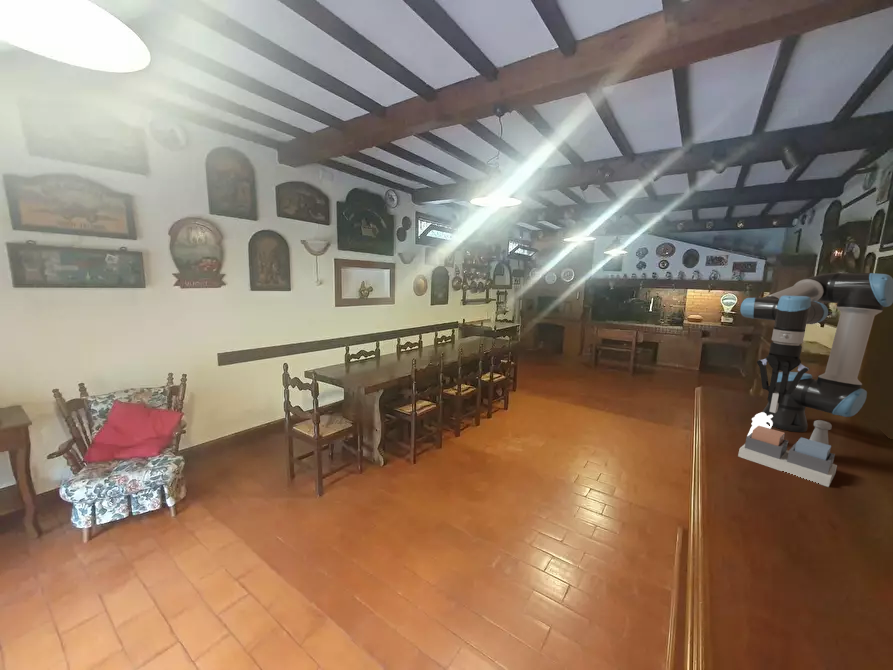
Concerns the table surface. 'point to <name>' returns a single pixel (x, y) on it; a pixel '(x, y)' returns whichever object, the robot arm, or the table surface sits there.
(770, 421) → the figurine
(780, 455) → the key housing
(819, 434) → the salt shaker
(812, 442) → the slate blue key
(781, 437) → the terracotta key
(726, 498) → the table surface
